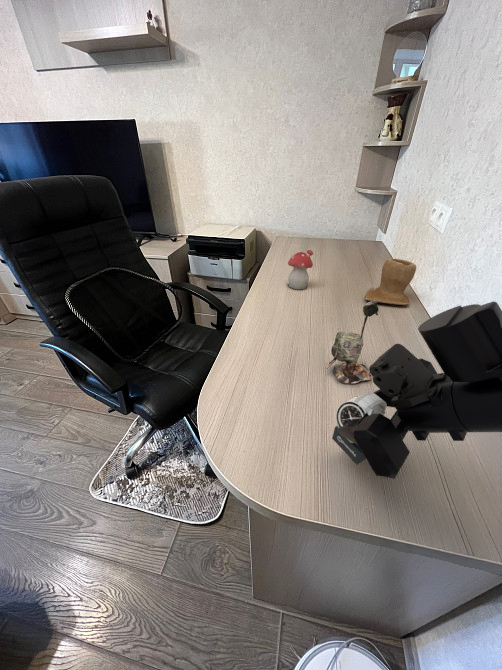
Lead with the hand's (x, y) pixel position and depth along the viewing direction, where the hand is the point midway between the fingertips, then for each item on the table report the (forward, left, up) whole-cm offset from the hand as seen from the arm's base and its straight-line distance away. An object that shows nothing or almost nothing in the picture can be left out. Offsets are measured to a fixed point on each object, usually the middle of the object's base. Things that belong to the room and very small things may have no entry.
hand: (353, 414), depth 43 cm
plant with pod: (+15, -20, -13) cm, 28 cm away
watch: (-1, 0, -7) cm, 7 cm away
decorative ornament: (+61, -43, -13) cm, 76 cm away
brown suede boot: (+35, -63, -13) cm, 73 cm away
